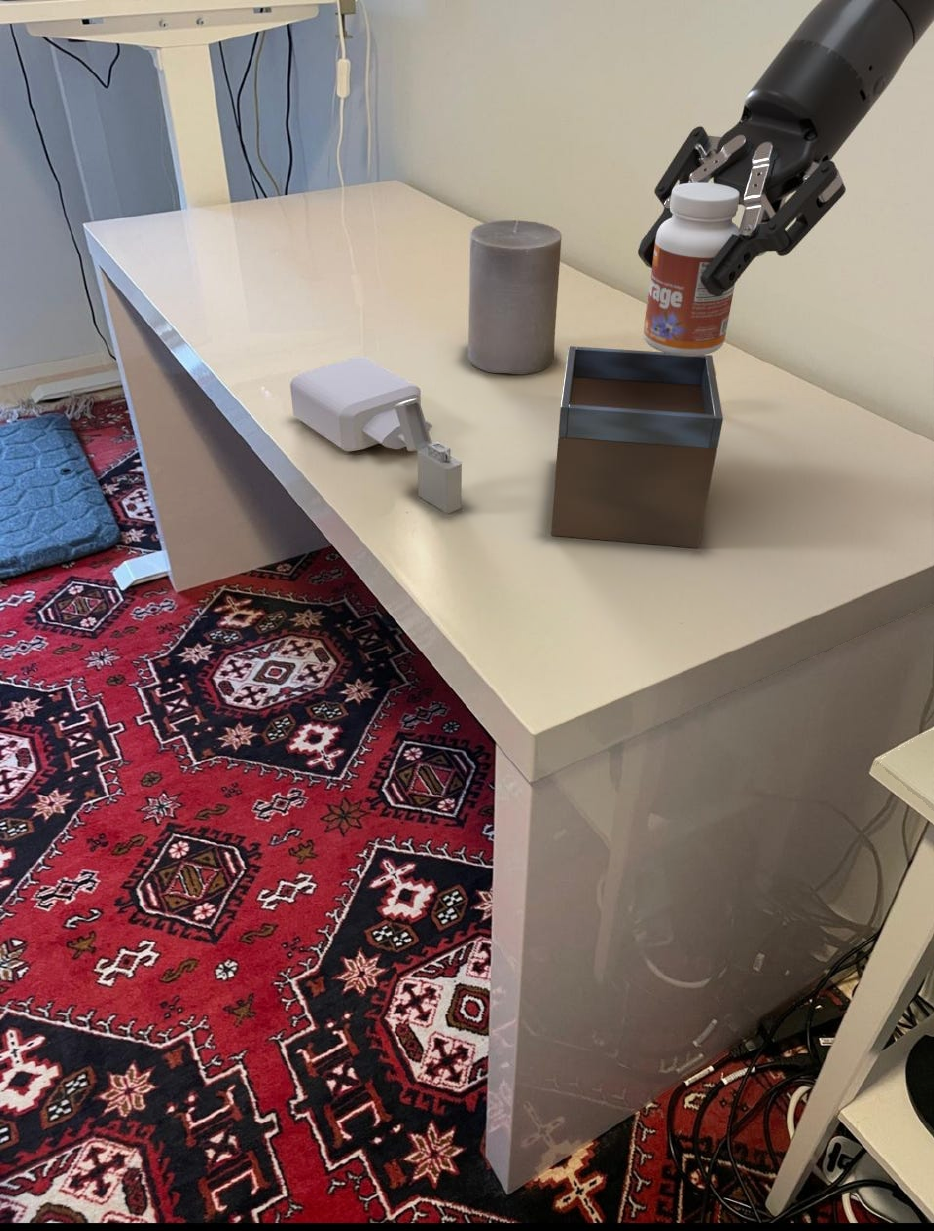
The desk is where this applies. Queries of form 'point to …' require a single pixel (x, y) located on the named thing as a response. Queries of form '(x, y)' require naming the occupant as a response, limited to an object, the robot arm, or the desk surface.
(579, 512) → the cube pen cup
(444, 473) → the lighter
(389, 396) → the charger
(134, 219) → the desk surface
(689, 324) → the pill bottle
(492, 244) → the pillar candle
